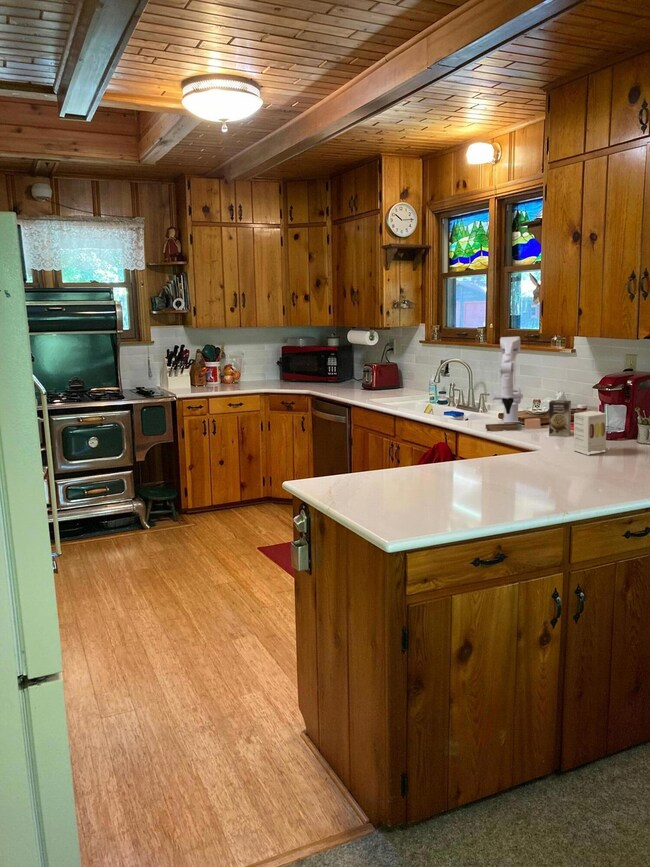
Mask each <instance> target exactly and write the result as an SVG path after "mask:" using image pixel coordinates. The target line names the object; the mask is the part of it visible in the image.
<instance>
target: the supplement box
mask: <svg viewBox="0 0 650 867" xmlns="http://www.w3.org/2000/svg"><path fill="white" fill-rule="evenodd" d="M573 416H574V417H573V418H574V419H573V426H574V427H573V449H574V448H576V449H579V450H583V451H587V452H591V451H602V450H607V413H606V412H600V411H595V410H589V411H581V412H575V413H574V414H573Z"/></svg>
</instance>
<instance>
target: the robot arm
mask: <svg viewBox="0 0 650 867" xmlns="http://www.w3.org/2000/svg"><path fill="white" fill-rule="evenodd" d="M499 344H500V345H499V346H500V347H499V348H500V351H501V354H502V358H501V363H500V364H499V373H500V378H501V379H500V380H501V381H500V383H501V384H500V386H501V391H500V394H498V395H497V394H496V395H492V396H491V397H492V401H498V400H499V401H500V402H501V404H502V405H503V418H502V421H503V424H505V423H517V422H520V423H521V420H520V421H518V419H519V404H520V403H521V402H522V399H524V394H522V393H521V391H522V390H521V389H520V388H519V387H518V386H517V385H516V358H517V355H518V354H520V353H521V352H520V351H521V337H520V336H519V335H518V336H501V337H500V339H499Z"/></svg>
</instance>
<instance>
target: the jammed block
mask: <svg viewBox="0 0 650 867" xmlns="http://www.w3.org/2000/svg"><path fill="white" fill-rule="evenodd" d="M524 428H525V429H526V430H533V429H535V430H536V429H538V430H539V429H541V419H540V418H536V417H535V418H524Z"/></svg>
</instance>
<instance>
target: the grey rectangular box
mask: <svg viewBox="0 0 650 867" xmlns="http://www.w3.org/2000/svg"><path fill="white" fill-rule="evenodd" d="M571 407H572V401H571V400H557V399H556V400H553V399H552V400H550V401H549V402H548V436H549V437H567V438H568V437H570V435H571V433H572V432H571V426H572V425H571V424H572V422H571V420H572V419H571V418H572V417H571V416H572V415H571V412H572V411H571V410H572V408H571Z"/></svg>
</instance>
